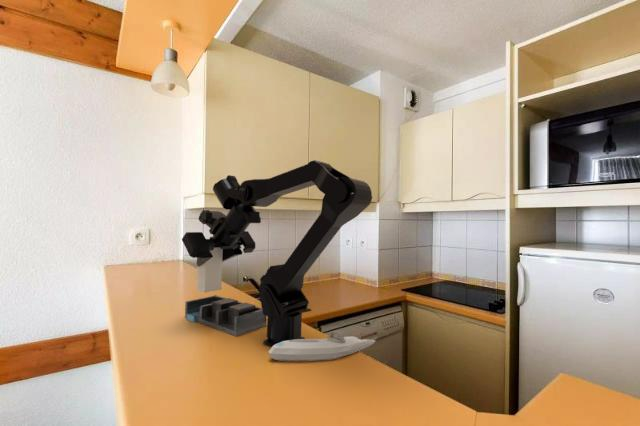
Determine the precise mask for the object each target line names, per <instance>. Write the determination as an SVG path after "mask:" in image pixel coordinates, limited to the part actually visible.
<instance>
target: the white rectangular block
mask: <svg viewBox="0 0 640 426" xmlns="http://www.w3.org/2000/svg"><path fill="white" fill-rule="evenodd" d="M211 254H212V256H213V257H212V258H211V259H210V260H208V261H207V262H205V263H204V264H203V265H201V266H199V267H198V266H197V265H196V267H197V268H196V292H200V293H204V294H205V293H206V294H207V293H210V292H211V293H212V292H216V291H221V290H222V286H223V285H222V282H223V262H222V256H223V249H220V248H215V249H214V250H213V251H212V252H211Z"/></svg>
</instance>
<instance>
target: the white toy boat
mask: <svg viewBox="0 0 640 426" xmlns="http://www.w3.org/2000/svg"><path fill="white" fill-rule="evenodd" d="M334 334H336V335H339V336H334ZM373 344H376V340H375V339H365V338H364V339H359V337H357V336H351V335H350V336H344V335H343V333H342V332H341V331H340V330H333V331H331V333H330V335H329V337H328V338H308V339H307V338H305V339H295V340H287V341H282V342H280V343H277V344H275V345H274V346H271V347H270V349H269V350H268V351H267V354H269V356H270V357H271V359H273V360H276V361H279V362H318V361H319V362H321V361H330V360H331V361H332V360H336V359H339V358H343V357H346V356H349V355H353V354H354V353H356V352H357V353H358V352H359V351H361V350H364V349H366V348H369V347H370V346H372V345H373Z"/></svg>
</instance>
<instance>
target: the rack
mask: <svg viewBox="0 0 640 426" xmlns="http://www.w3.org/2000/svg"><path fill="white" fill-rule="evenodd" d="M184 307H185V309H184V310H185V311H184V318H186V320H187V321H190V322H191V323H198V324H202V325H205V326H208V327H210V328H212V329H216V330H218V331H221V332H223V333H226V334H228V335H230V336H231V335H232V336H234V337H238V336H241V335H243V334H246V333H250V332H253V331H256V330H258V329H261V328H264V327H267V316H266V315H263V310H262V306H261V307H260V306H256V305H255V304H252V303H249V302H242V301H239V300H238V299H234V298H231V297H228V298H227V297H223V296H219V295H216V294H214V295H211V296H205V297H200V298H196V299H191V300H185V306H184Z"/></svg>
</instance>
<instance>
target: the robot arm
mask: <svg viewBox="0 0 640 426" xmlns="http://www.w3.org/2000/svg"><path fill="white" fill-rule="evenodd" d="M313 186H316V188H317V190H319V191H320V192H321V193H322V194H324V196H323V197H322V203H321V211H320V213H319V215H318V216H317V218H316V219H315V220H314V222H313V223H312V225H311V226H310V228H309V229H308V231H307V232H306V233H305V234H304V236H303V237H302V239H301V240H300V242H298V245H297V246H296V247H295V248H294V250H293V251H292V253H291V255H290V256H288V258H287V260H286V261H285V262H284V263H283V264H276V265H271V266H269V267H268V269H266V273H265V274H264V275H263V277H261V278H260V279H259V280H260V281H261V282H260V283H259V285H258V296H259V300H260V306H261V308H262V310H263V315H266V317H267V318H266V339H264V340H263V345H268V346H270V347H272V346H274V345H275V344H277V343H280V342H282V341H287V340H295V339H306V337H305V336H302V321H303V320H302V318H303V316H302V314H303V313H302V312H304V311H307V309H308V306H309V300H308V298H307V296H306V295H305V293H304V291H302V288H304V287H303V286H304V278H305V275H306V274H307V272H309V270H310V269H311V267H312V266H314V263H315V262H316V261H317V259H318V258H319V257H320V256H321V254H322V253H323V252H324V251H325V249H326V248H327V246H328V245H329V244H330V242H331V241H332V240H333V239H334V237H335V236H336V234H338V232H339V231H340V229H341V228H342V227H343V226H344V225H345V224H347V223H348V222H350V221H352V220H354V219H355V218H357V217H358V216H359V215H361V213H362V212H364V211H365V210H366V209H367V208H368V207H369V205H370V204H371V202H372V200H373V196H372V195H373V194H372V189H371V187H370V185H369V184H368V183H367V182H365V181H364V180H359V179H355V178H352V177H350V176H349V175H347V174H345V173H343V172H341V171H339V170H337V169H336V168H334V167H333V166H332V165H330V163H327V162H323V161H320V160H316V159H315V160H310V161H309V162H308V163H306V164H304V165H301V166H298V167H296V168H293V169H290V170H288V171H285V172H282V173H281V174H277V175H275V176H271V177H269V178H254V179H247V180H244V181H242V182H241V184H240V183H239V182H238V179H237V177H236V176H235V175H229V174H228V175H227V176H226V178H222V179H220V180H219V181H217V182H216V183H214V185H213V186H212V191H213V193H214V194H215V197H216V198H217V200H218V201H219V203H220V205H221V206H222V208H223V209H225V210H229V211H228V212H227V214H224V213H223V212H222V211H219V210H218V211H217V210H208V209H203V210H202V211H200V214H199V216H198V221H199V222H200V223H201V224H202V225H206V226H207V227H209V230H208V232H209V233H210V235H212V236H210V237H209V238H206V237H205V235H204V232H202V231H187V232H185V234H184V235H183V237H182V238H181V241H182V242H183V245H184V247H185V249H186V251H187V253H188V255H189V256H190V257H191V258H195V259H196V267H197V266H198V267H199V266H201V265H203V264H204V263H205V262H207V261H208V260H210V259H211V258H212V257H213V256H212V254H211V252H212V251H213V250H214V249H215V248H220V249H223V256H222V263H223V262H225V261H228V260H230V259H233V258H235V257H238V256H242V254H243V253H244V254H251V253H253V252H254V250H255V249H256V242H255V241H254V239H253V237H252V235H251V234H250V232H249V231H247V229H248V227H249V225H251V224H261V222H262V220H261V219H262V217H261V216H260V213H261V212H260V211H256V209H255V207H258V208H267V207H269V206H271V205H273V204H274V203H276V202H277V201H278V199H280V198H281V197H282V196H286V195H288V194H291V193H294V192H297V191H301V190H303V189H304V190H305V189H307V188H310V187H313ZM242 246H243V249H242ZM286 303H287V304H286ZM283 304H284V305H283Z"/></svg>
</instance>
